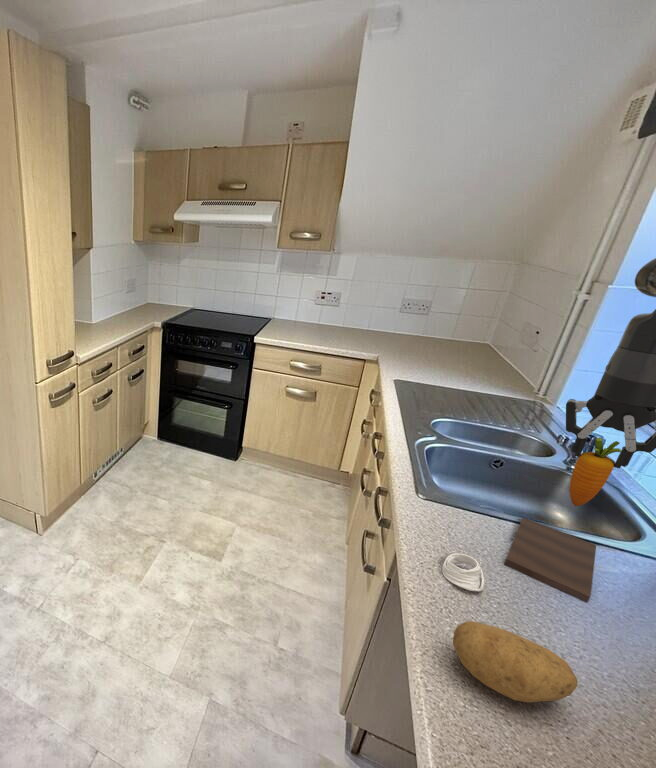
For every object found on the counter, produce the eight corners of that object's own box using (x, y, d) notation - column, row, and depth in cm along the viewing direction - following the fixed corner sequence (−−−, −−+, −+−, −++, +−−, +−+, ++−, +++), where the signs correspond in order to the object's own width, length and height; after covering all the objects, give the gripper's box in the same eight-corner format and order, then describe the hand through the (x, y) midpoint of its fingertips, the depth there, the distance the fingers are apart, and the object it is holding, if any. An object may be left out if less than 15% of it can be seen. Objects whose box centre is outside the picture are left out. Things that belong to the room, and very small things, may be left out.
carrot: (587, 503, 82) (620, 436, 76) (597, 517, 78) (632, 447, 72) (554, 495, 84) (584, 429, 79) (562, 508, 80) (593, 440, 75)
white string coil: (485, 603, 76) (497, 586, 73) (443, 587, 78) (453, 569, 76) (476, 571, 82) (487, 554, 80) (437, 557, 85) (447, 540, 82)
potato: (577, 740, 55) (601, 700, 52) (449, 689, 60) (465, 650, 58) (549, 674, 63) (569, 636, 60) (439, 634, 69) (453, 598, 66)
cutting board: (520, 522, 96) (522, 516, 96) (593, 550, 88) (596, 545, 87) (503, 564, 84) (506, 558, 83) (587, 602, 75) (590, 596, 75)
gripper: (701, 382, 69) (654, 470, 75) (581, 361, 79) (548, 440, 85) (704, 392, 64) (654, 485, 70) (576, 368, 74) (542, 451, 80)
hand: (596, 460), depth 77 cm, fingers closed on carrot, 4 cm apart
